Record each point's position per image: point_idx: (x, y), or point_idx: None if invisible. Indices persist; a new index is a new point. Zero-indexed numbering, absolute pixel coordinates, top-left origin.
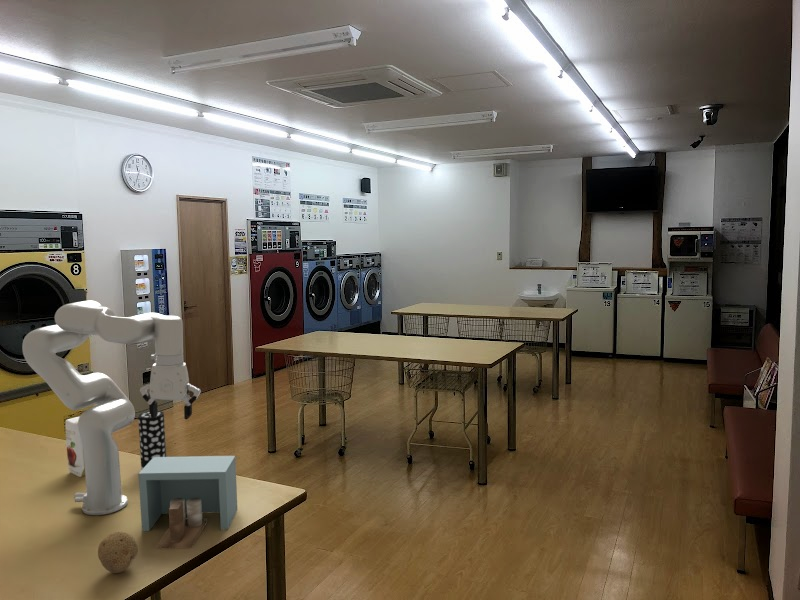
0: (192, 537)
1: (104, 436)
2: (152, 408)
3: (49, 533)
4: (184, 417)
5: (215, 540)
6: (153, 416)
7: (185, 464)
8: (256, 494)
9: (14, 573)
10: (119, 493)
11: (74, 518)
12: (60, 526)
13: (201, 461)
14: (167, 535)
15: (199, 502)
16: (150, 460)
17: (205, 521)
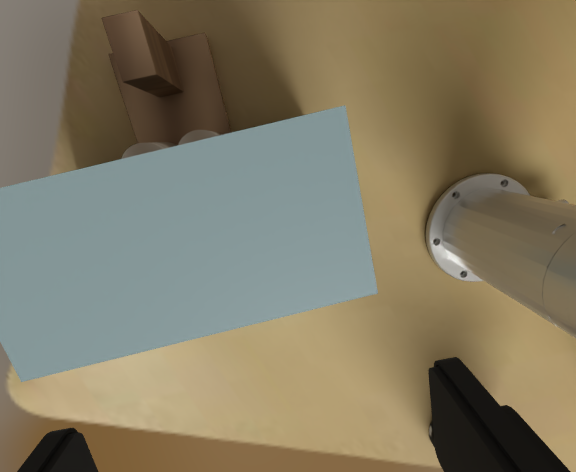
0: (127, 87)
1: None
2: (509, 459)
3: (543, 62)
4: (69, 443)
5: (74, 110)
6: (436, 375)
7: (185, 248)
8: (120, 367)
9: None
10: (457, 244)
11: (521, 152)
12: (534, 104)
13: (132, 293)
14: (206, 86)
15: None
16: None
17: None
